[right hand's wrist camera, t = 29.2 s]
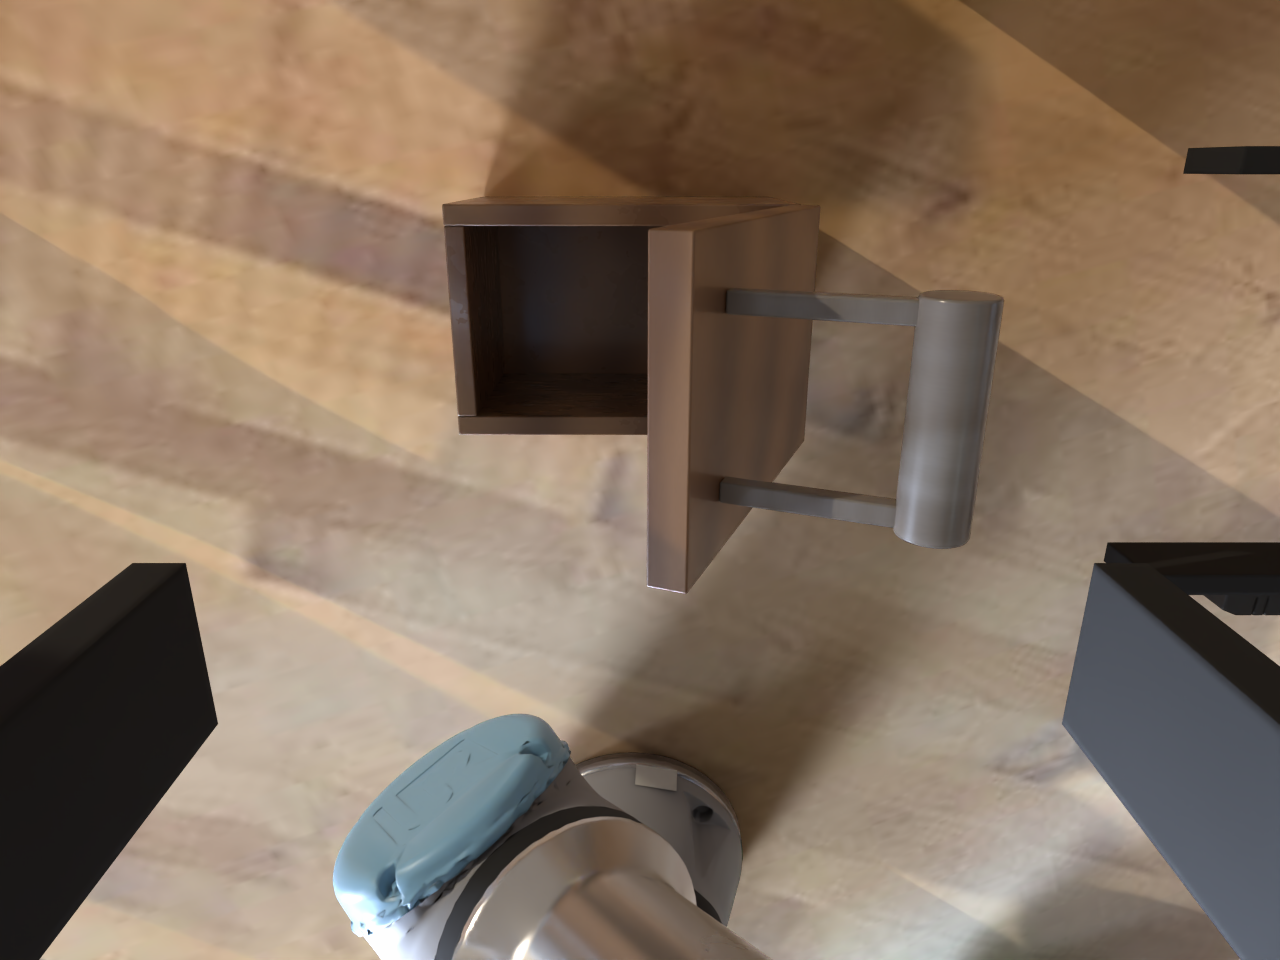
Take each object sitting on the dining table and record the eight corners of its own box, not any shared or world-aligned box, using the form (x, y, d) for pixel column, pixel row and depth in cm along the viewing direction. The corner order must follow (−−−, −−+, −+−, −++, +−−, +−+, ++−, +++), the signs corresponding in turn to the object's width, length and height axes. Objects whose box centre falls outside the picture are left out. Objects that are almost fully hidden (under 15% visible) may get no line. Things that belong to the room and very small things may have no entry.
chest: (493, 384, 49) (458, 435, 40) (481, 196, 46) (441, 204, 36) (760, 385, 49) (788, 435, 40) (770, 196, 46) (802, 204, 36)
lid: (646, 587, 26) (955, 645, 22) (647, 228, 22) (1014, 239, 19) (776, 438, 40) (977, 461, 36) (790, 204, 36) (1014, 208, 33)
